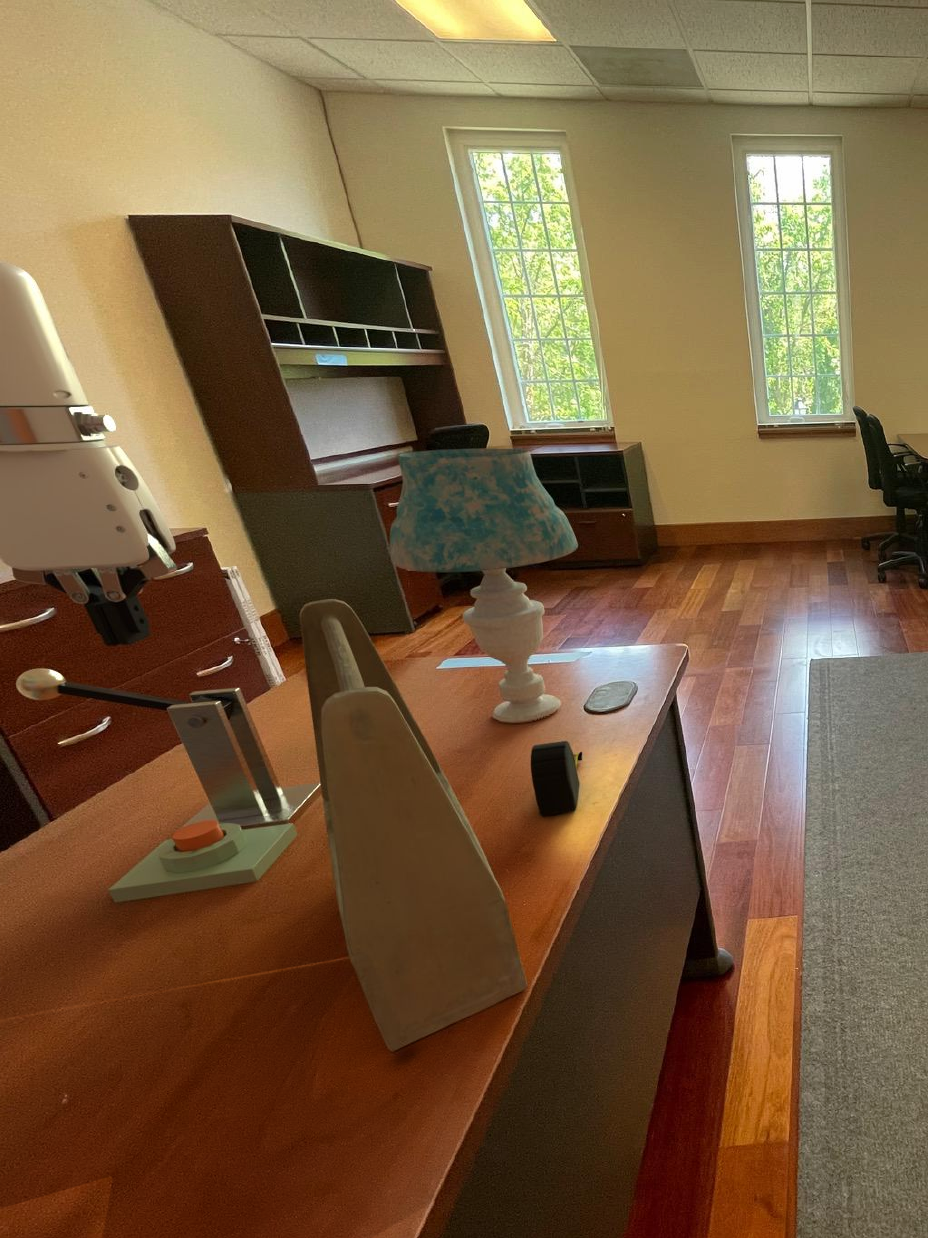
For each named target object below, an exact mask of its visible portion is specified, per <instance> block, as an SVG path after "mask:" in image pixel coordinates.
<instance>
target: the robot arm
mask: <svg viewBox="0 0 928 1238" xmlns="http://www.w3.org/2000/svg"><path fill="white" fill-rule="evenodd" d="M42 293H43V292H42V291H41V289H40V287H39V285H38V283H37V282H36V280H35V279H34V277H32V276H31V274H29V273H28V272H27V271H26V270H24V269H23V268H22V267H20V266H17V265H15V264H13V263H9V262H7V261H3V260H0V560H1V561H2V563H3V564H4V565H6V566H8V567H10V568H11V571H12V576H13V578H14V579H15V580H16V581H18V582H21V583H26V584H34V585H43V586H50V587H52V588H54V589H56V590H58V591H60V592H62V593H64V594H66V595H67V596H69V598H70V599H71V600H72V602H73V603H75V604H79V605H83V606H84V608H85V610H86V612H87V615H88V617H89V619H90V621H91V623H92V625H93V627H94V629H95V631H96V633H97V634H98V635H100V636H101V638H102V640H103V643H104V644H105V646H106V647H116V646H119V645H122V646H131V645H133V644H135V643H138V642H140V641H142V640H144V639H147V638H149V637H150V636H151V630H150V629H151V624H150V621H149V620H148V619H149V618H148V617H147V615H146V612H145V610H144V607H143V606H142V603H141V601H140V599H139V597H138V595H140V594H142V593H143V591H144V588H145V586H146V584H147V583H148V582H149V581H150V580H152V579H157V578H160V577H164V576H167V575H170V574H172V573H175V572H177V570H178V566H177V564H176V563H175V562H174V561H173V559H172V558H171V556H170V555H171V554H172V553H174V552H175V551H176V547H177V546H176V542H175V539H174V537H173V534H172V532H171V529H170V527H169V524H168V523H167V521H166V518H165V517H164V515H163V512H162V511H161V509H160V506H159V505H158V503H157V501H156V499H155V497H154V496H153V494H152V492H151V490H150V489H149V487H148V485H147V484H146V482H145V480H144V479H143V477H142V476H141V474H140V472H139V471H138V470H137V468H136V467H135V465H134V463H133V462H132V461H131V459H130V458H129V457H128V456H127V454H126V452H125V451H124V450H123V449H122V447H121V446H120V445H107V444H106V440H105V439H106V436H105V434H106V433H115V432H116V430H117V425H116V422H115V420H114V419H113V417H111V416H109V415H107V414H106V415H105V414H103V415H102V414H101V415H100V414H98V413H95V410H94V408H93V407H92V406H90V405H89V402H88V399H87V397H86V394H85V391H84V390H83V388H82V385H81V382H80V380H79V378H78V375H77V373H76V371H75V369H74V366H73V363H72V362H71V359H70V357H69V355H68V352H67V349H66V348H65V345H64V343H63V341H62V338H61V335H60V333H59V331H58V328H57V326H56V324H55V322H54V319H53V317H52V314H51V312H50V310H49V307H48V305H47V302H46V301H45V298H44V295H43V294H42ZM141 564H143V565H141ZM138 565H139V566H138Z"/></svg>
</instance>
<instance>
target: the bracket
mask: <svg viewBox="0 0 928 1238" xmlns="http://www.w3.org/2000/svg"><path fill="white" fill-rule="evenodd" d="M188 696H189V698H190V700H191V702H190V704H179V705H172V706H170V707H168V708H167V711H166V712H168V715H169V717H170V720H171V721H172V723H173V726H174V728H175V730H176V732H177V734H178V737H179V739H180V741H181V743H182V745H183V747H184V749H185V752H186V754H187V757H188V758H189V760H190V763H191V764H192V767H193V769H194V771H195V774H196V775H197V777H198V779H199V782H200V784H201V786H202V788H203V791H204V793H205V796H206V797H207V800H208V803H207V804H206V805H205V806H204V807H202V808H201V809H200V810H199V811H198V812H197V813H196V814H194V815H193V816H192V817H191V818H190V819H189V820H187V822H186V823H184V824H183V825H182V826H181V827H179V829H181V828H183V827H185V826H187V825H190V824H193V823H197V822H201V821H208V820H213V821H217V822H218V824H222V823H231V824H237V825H240V827H241V829H242V830H245V829H253V828H260V827H268V826H275V825H283V824H290V823H293V825H294V826H295V824H296V823H297V821H299V819H300V818H301V817H302V816H303V815H304V814H305V812H306V811H307V810H308V809H309V808H310V807H311V806H312V804H314V802H316V800H317V799H318V798H319V797H320V796H321V795H322V793H321V784H320V782H314V783H307V784H299V785H290V786H281V785H280V783H279V780H278V778H277V776H276V773H275V770H274V767H273V766H272V763H271V760H270V758H269V756H268V754H267V751H266V749H265V746H264V744H263V741H262V739H261V736H260V734H259V732H258V729H257V726H256V725H255V721H254V719H253V717H252V715H251V712H250V709H249V708H248V704H247V702H246V700H245V697H244V696H243V694H242V690H241V688H240V687H232V688H230V687H229V688H219V689H208V690H207V689H206V690H198V691H197V690H196V691H192V692H191V693H189V695H188ZM200 697H207V698H213V699H219V700H225V701H231V702H232V705H231V717H230V720H229V721H228V718H227V716H226V714H225V711H224V709H223V707H222V704H221V702H220V701H212V702H201V703H192V702H193V701H195V700H196V699H198V698H200Z"/></svg>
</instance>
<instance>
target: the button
mask: <svg viewBox="0 0 928 1238" xmlns="http://www.w3.org/2000/svg"><path fill="white" fill-rule="evenodd" d="M180 828H181V827H180ZM180 828H179V829H177V830H176V831H174V832H173V833H172V834H171V839H173V840H174V842H175V844H176V846H177V848H178V850H179V851H180V852H187V851H194V850H198V849H201V848H204V847H207V846H210V845H212V844H214V843H216V842H218V841H220V840H221V839H222V838H223V837H224V835H223V832H222V830H221V828H220V826H219V824H218V822H217V821H213V820H208V821H201V822H197V823H193V824H190V825H187V826H185V827H183V828H181V829H180Z"/></svg>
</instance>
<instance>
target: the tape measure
mask: <svg viewBox="0 0 928 1238" xmlns="http://www.w3.org/2000/svg"><path fill="white" fill-rule="evenodd" d="M579 761H583V751H580V752H578V753H576V754H574V752H573V749H572V747H571V744H570V742H569V741H568V740H562V741H555V742H548V743H540V744H539V743H538V744H535V745H532V748H531V752H530V773H531V780H532V781H531V782H532V787H533V791H534V796H535V801H536V804H537V809H538V813H539V815H540V816H541V817H546V816H547V817H548V816H552V815H560V814H565V813H571V812H575V811H576V810H577V807H578V800H579V793H580V786H581V785H580V778H579V774H578V770H577V765H578V762H579Z"/></svg>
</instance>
